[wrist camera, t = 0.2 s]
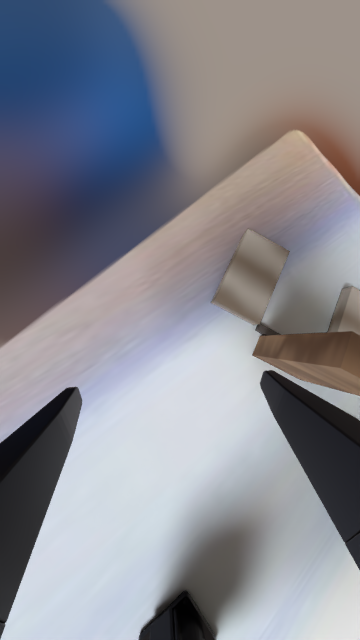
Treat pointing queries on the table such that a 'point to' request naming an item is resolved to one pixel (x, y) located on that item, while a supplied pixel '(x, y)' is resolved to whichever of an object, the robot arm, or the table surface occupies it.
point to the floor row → (270, 286)
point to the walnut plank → (316, 357)
